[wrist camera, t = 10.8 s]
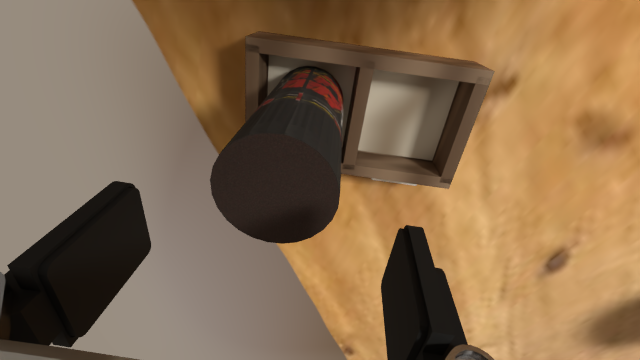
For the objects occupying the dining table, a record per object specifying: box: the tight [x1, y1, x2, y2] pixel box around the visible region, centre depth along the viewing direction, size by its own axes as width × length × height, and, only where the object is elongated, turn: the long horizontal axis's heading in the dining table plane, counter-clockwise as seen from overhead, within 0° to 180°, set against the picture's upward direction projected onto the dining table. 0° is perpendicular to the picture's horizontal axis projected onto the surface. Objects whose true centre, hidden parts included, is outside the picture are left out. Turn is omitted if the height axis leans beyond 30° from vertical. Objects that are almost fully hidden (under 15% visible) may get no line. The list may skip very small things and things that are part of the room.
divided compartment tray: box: [246, 32, 494, 189], centre depth 27 cm, size 18×10×4 cm, turn 83°
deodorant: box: [210, 66, 344, 243], centre depth 21 cm, size 6×6×15 cm
